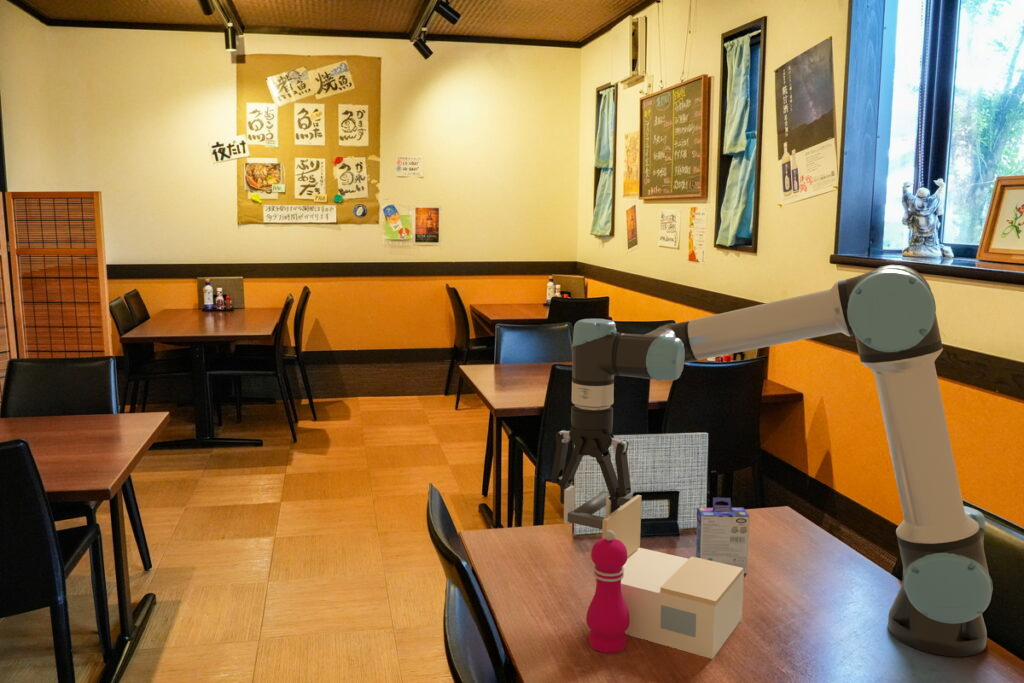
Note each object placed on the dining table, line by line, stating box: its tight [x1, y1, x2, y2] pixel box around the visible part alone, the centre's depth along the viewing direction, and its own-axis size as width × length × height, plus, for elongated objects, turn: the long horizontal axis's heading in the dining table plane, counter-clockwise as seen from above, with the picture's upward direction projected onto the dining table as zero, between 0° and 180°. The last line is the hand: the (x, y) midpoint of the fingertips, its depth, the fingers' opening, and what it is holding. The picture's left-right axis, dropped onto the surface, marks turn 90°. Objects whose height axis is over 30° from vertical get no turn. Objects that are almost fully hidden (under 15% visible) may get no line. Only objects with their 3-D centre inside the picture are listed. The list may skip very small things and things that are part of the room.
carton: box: [621, 547, 745, 660], centre depth 149 cm, size 20×16×10 cm
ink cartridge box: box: [695, 497, 750, 575], centre depth 171 cm, size 10×6×14 cm, turn 89°
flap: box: [568, 490, 642, 556], centre depth 154 cm, size 10×15×8 cm
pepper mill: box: [585, 530, 630, 654], centre depth 141 cm, size 7×7×20 cm
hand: (589, 525), depth 156 cm, fingers open, 8 cm apart
